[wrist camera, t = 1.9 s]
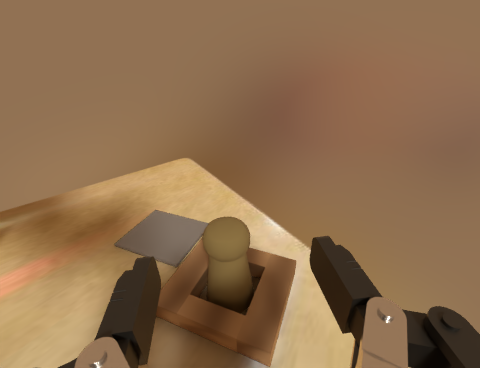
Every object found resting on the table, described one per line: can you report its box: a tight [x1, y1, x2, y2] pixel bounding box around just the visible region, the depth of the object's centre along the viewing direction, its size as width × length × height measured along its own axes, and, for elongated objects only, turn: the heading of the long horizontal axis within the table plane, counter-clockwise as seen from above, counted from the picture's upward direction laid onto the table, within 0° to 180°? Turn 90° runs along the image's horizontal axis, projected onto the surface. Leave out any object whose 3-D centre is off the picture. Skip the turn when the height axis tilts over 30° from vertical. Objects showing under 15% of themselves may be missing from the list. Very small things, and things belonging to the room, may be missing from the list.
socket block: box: [156, 239, 296, 367], centre depth 30 cm, size 14×12×2 cm
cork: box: [202, 217, 254, 314], centre depth 28 cm, size 6×6×11 cm
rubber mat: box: [114, 210, 209, 267], centre depth 41 cm, size 12×10×1 cm
